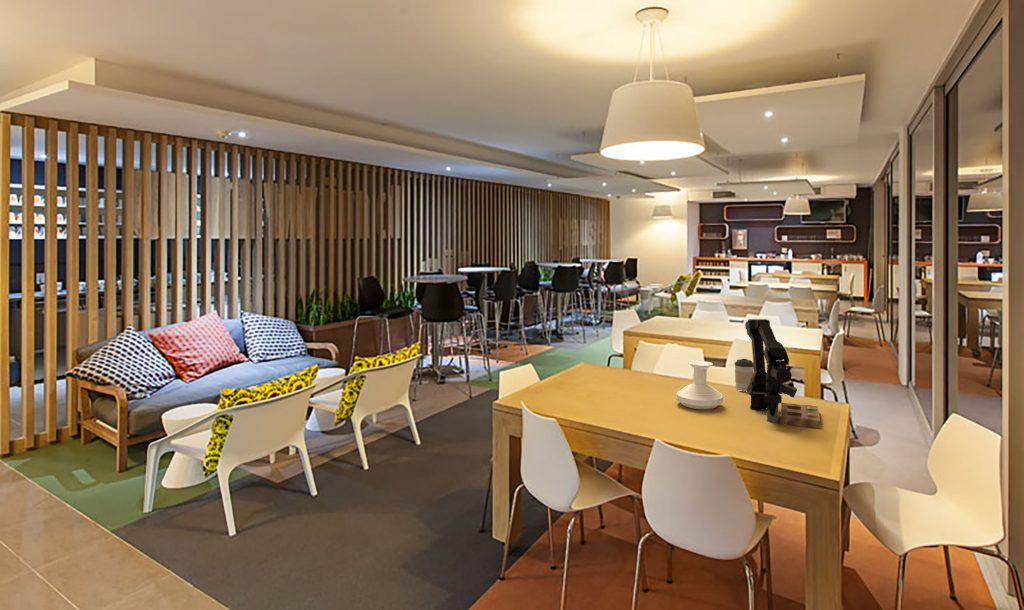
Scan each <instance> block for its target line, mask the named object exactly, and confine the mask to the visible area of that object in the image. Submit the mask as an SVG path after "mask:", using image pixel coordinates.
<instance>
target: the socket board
mask: <svg viewBox="0 0 1024 610" xmlns="http://www.w3.org/2000/svg"><path fill="white" fill-rule="evenodd" d="M780 425H787V426H794V427H795V426H797V427H803V428H805V427H806V428H813V429H821V418H820V411H819V406H817V405H810V404H809V405H808V404H802V403H801V404H799V403H790V402H781V403H780Z"/></svg>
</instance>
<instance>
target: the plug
mask: <svg viewBox="0 0 1024 610" xmlns="http://www.w3.org/2000/svg"><path fill="white" fill-rule="evenodd" d="M779 405H780V403H779V404H777V407H776V410H775V414H774V416H771V414H770V412H769V409H768V407H767V408H766V422H773V423H778V422H779Z"/></svg>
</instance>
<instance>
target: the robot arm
mask: <svg viewBox="0 0 1024 610" xmlns="http://www.w3.org/2000/svg"><path fill="white" fill-rule="evenodd" d="M744 326H745V327H744V328H745V330H746V335H748V337H749V339H750V340H751V350H752V362H753V366H754V373H753V375H752V377H751V382H750V383H749V385H748V387H747V392H746V393H747V395H749V396H750V406H749V409H750V410H757V411H766V412H767V407H768V409H769V412H770V414H771V416H774V414H775V410H776V407H777V404H779V405H780V404H781V403H783V402H782V399H783V398H782V397H783V396H782V394H785V395H787V396H790V398H795V396H796V394H797V392H798V388H797V387H795V386H794V385H795V384H794V383H793V382H791V379H792V376H793V375H792V372H791V371H790V370H789V369H788V367H787V366H790V363H789V362H790V359H789V356H788V355H789V354H788V352H787V350H786V348H785V347H784V345H783V344H782V343H781V342H780V341H778V340H777V339H776V335H775V334H774V331H773V330H772V327H771V322H770V320H769V319H766V318H762V319H761V318H755V319H754V318H753V319H751V318H750V319H748V320H747V321H745V325H744ZM764 346H765V347H764Z"/></svg>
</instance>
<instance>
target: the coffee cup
mask: <svg viewBox="0 0 1024 610" xmlns="http://www.w3.org/2000/svg"><path fill="white" fill-rule="evenodd" d="M753 373H754V366H753V360H750V359H748V358H741V359H737V360H736V361H735V362H734V382H735V390H736V389H737V390H742V391H747V387H748V385H749V383H750V382H751V377H752V375H753ZM737 390H736V391H737Z"/></svg>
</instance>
